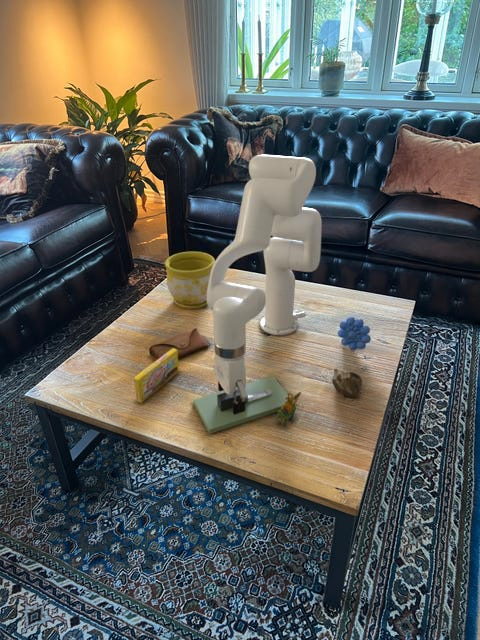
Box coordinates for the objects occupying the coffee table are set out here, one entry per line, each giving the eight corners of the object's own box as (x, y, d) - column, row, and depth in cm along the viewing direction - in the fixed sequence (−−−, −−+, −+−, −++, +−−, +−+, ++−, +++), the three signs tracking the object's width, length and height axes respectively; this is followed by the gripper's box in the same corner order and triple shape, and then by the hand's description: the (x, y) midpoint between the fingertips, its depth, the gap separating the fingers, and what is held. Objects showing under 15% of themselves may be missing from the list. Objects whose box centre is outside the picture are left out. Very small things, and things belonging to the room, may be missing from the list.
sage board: (272, 379, 127) (272, 375, 126) (293, 406, 117) (294, 401, 116) (193, 403, 118) (193, 399, 117) (209, 434, 109) (209, 429, 108)
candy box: (142, 404, 118) (138, 380, 114) (136, 401, 119) (132, 377, 115) (179, 372, 130) (177, 349, 126) (174, 369, 131) (171, 347, 127)
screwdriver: (221, 411, 114) (220, 401, 112) (217, 405, 116) (217, 394, 114) (273, 395, 119) (273, 384, 117) (269, 389, 121) (269, 379, 119)
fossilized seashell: (328, 368, 127) (327, 396, 119) (343, 356, 123) (343, 383, 115) (349, 380, 128) (350, 407, 121) (365, 368, 124) (366, 396, 117)
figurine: (270, 429, 110) (271, 405, 106) (294, 403, 118) (296, 379, 114) (281, 435, 108) (283, 410, 104) (305, 407, 117) (307, 383, 112)
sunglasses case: (163, 366, 131) (155, 346, 130) (154, 367, 137) (146, 347, 136) (211, 344, 141) (204, 325, 140) (201, 345, 147) (194, 327, 146)
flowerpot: (175, 288, 175) (172, 250, 167) (220, 291, 173) (219, 252, 165) (163, 311, 160) (158, 270, 152) (211, 314, 158) (209, 273, 149)
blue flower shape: (375, 352, 138) (381, 320, 131) (362, 361, 134) (368, 328, 128) (345, 337, 145) (350, 305, 139) (332, 344, 141) (336, 312, 135)
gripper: (203, 332, 112) (206, 384, 121) (229, 371, 98) (231, 426, 107) (230, 325, 114) (231, 377, 123) (260, 362, 101) (259, 417, 110)
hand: (231, 400), depth 115 cm, fingers open, 9 cm apart
